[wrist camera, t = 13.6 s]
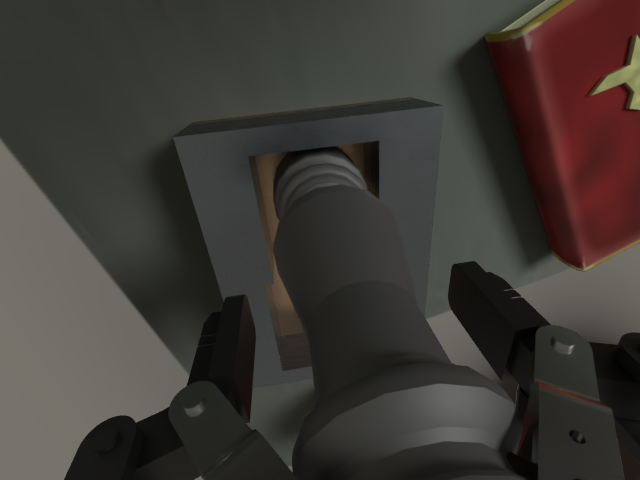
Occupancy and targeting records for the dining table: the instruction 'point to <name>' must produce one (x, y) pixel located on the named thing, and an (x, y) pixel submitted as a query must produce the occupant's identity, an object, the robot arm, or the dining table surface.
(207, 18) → the dining table surface
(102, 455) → the robot arm
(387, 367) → the candle holder
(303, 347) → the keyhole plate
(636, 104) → the hardcover book
